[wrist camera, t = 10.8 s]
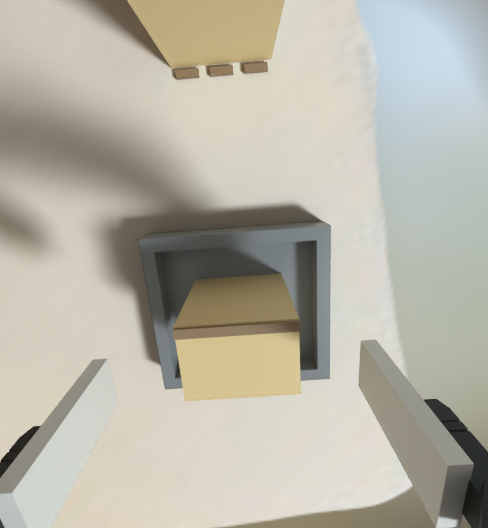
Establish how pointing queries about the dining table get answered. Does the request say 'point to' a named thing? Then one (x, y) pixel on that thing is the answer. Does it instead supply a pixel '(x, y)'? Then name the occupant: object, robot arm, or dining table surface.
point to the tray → (242, 264)
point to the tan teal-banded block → (211, 32)
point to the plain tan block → (238, 339)
